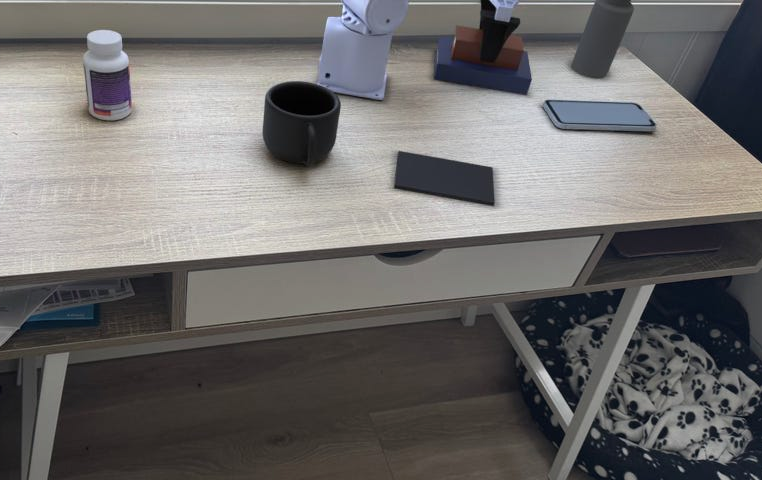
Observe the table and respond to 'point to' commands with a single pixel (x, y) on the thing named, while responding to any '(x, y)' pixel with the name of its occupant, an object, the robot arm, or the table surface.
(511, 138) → the table surface
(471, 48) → the block
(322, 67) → the robot arm
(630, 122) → the smartphone
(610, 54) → the bottle
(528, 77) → the hardcover book
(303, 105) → the mug
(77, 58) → the table surface
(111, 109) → the pill bottle
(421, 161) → the rubber mat
